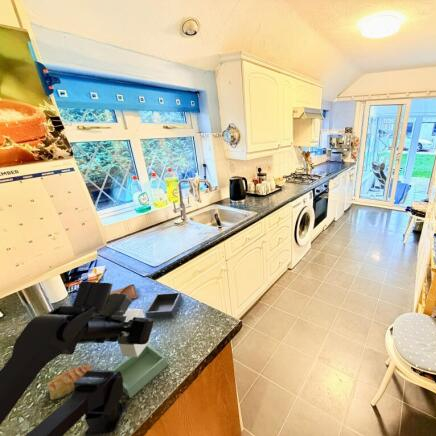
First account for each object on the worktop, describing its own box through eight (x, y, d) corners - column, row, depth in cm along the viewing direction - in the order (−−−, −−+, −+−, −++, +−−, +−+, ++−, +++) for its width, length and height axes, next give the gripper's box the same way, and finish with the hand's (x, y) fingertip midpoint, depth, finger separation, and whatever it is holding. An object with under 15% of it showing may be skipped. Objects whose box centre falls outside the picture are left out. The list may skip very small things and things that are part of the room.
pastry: (88, 364, 74) (84, 355, 72) (95, 377, 70) (92, 368, 69) (47, 389, 67) (42, 380, 65) (53, 405, 63) (48, 396, 62)
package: (137, 357, 67) (127, 325, 63) (122, 356, 67) (111, 324, 63) (151, 339, 73) (142, 309, 69) (137, 338, 73) (128, 308, 69)
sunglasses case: (86, 318, 90) (81, 302, 91) (88, 317, 96) (82, 301, 96) (139, 297, 102) (135, 282, 102) (138, 296, 107) (133, 283, 108)
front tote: (130, 398, 65) (127, 390, 63) (112, 380, 69) (108, 372, 68) (167, 365, 74) (165, 357, 72) (149, 351, 78) (147, 343, 77)
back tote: (173, 318, 92) (171, 311, 91) (146, 320, 91) (145, 312, 89) (182, 298, 102) (180, 292, 101) (158, 300, 101) (157, 293, 100)
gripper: (141, 295, 58) (173, 301, 72) (70, 291, 59) (116, 297, 73) (125, 347, 53) (163, 342, 67) (49, 340, 54) (102, 337, 69)
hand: (135, 328), depth 69 cm, fingers closed on package, 4 cm apart
